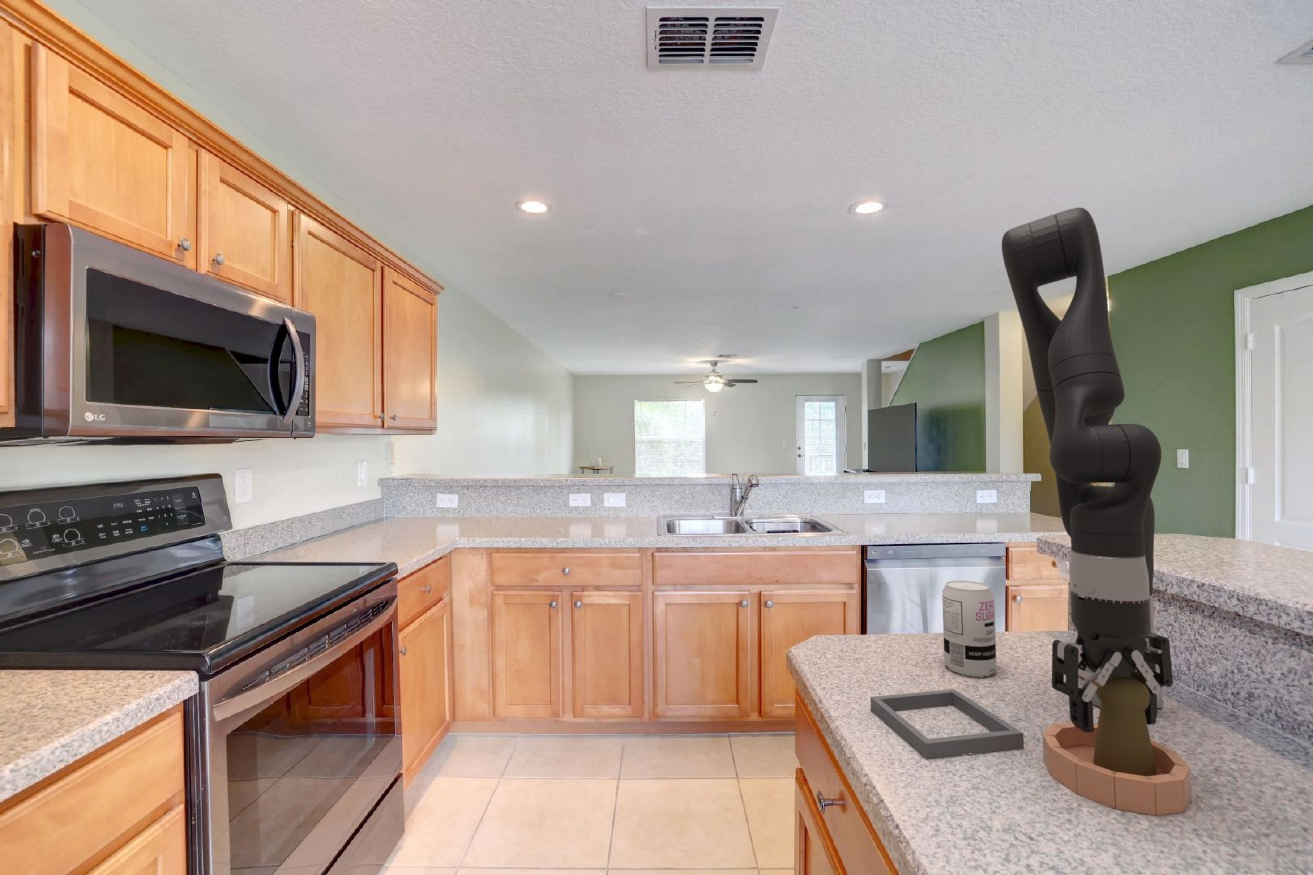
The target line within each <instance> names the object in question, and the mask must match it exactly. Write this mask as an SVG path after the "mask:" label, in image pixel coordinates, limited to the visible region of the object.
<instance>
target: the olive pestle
mask: <svg viewBox="0 0 1313 875" xmlns="http://www.w3.org/2000/svg"><path fill="white" fill-rule="evenodd" d="M1095 692H1096V695H1097V697H1098V698H1099V700H1100V701H1101V704H1100V707H1099V713H1098V722H1097V724H1098V728H1097V735H1096V743H1095V751H1094V759H1093V763H1094V765H1097V766H1099V767H1102V768H1105V769H1108V770H1111V771H1114V772H1120V773H1127V774H1134V775H1140V776H1155V775H1157V771H1156V766H1155V761H1154V756H1153V751H1152V746H1151V741H1150V739H1151V737H1150V732H1149V731H1150V730H1149V725H1148V724H1147V721H1146V716H1145V711H1144V710H1145V709H1146V708H1147V707H1148V706H1149V703H1150V693H1149V690H1148V689H1147V687H1146V686H1145V685H1144V684H1143V683H1142V682H1140V681H1139V680H1137V679H1135V678H1132V677H1123V676H1118V677H1116V678H1112V679H1107V681H1106V682H1105V684H1104V686H1102V687H1098V688H1097V690H1096V691H1095Z"/></svg>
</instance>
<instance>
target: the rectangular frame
mask: <svg viewBox="0 0 1313 875" xmlns="http://www.w3.org/2000/svg"><path fill="white" fill-rule="evenodd" d="M948 705H951V706H953V705H954V706H956V707H957V708H959V709H960V710H962V711H963V712H964V713H963V712H962V711H961V712H962V713H963V714H965V713H966V714H967V715H966V714H965V715H966V716H968V715H969V716H970V717H969V716H968V717H969V718H971V719H972V718H973V719H972V720H974V719H975V720H976V721H975V720H974V721H975V722H977V723H978V722H979V723H981V724H982V725H983V726H982V725H981V724H980V725H981V726H982V727H984V728H985V727H986V728H985V729H987V728H988V729H989V730H988V729H987V730H988V732H981V733H971V734H962V735H960V734H959V735H953V736H944V737H934V738H928V737H927V736H926V735H924V734H923V733H922V732H921V731H920V730H918V729H917V728H916V727H914V725H913V724H911V723H909V722H908V720H906V719H905V718H904V717H902V716H901V715H900V714H899V713H898V712H899V711H907V710H918V709H929V708H938V706H941V707H949V706H948ZM954 706H953V707H954ZM956 707H955V708H956ZM957 708H956V709H957ZM959 709H958V710H959ZM960 710H959V711H960ZM870 711H871V712H872V713H873V714H875V715H876V716H877V717H878V718H879V719H880V720H882V721H883V723H885V724H886V725H888V727H889V728H890V729H891V730H893V731H894V732H895V733H896V734H897V735H898V736H900V737H901V738H902V739H903V740H905V741H904V742H907V744H909V745H910V746H911V747H912V749H915V750H916V751H917V752H918V753H919V754H920V755H921V756H923V757H924V759H926V760H930V759H940V758H948V757H959V756H964V755H963V754H968V755H970V754H969V753H977V754H984V753H983V752H986V753H990V752H989V751H995V752H1000V751H999V750H1003V751H1008V750H1007V749H1012V750H1018V749H1020V748H1021V749H1024V748H1025V747H1024V745H1025V744H1024V732H1022V731H1021V730H1019V729H1017V728H1016V727H1015V726H1013V725H1011V724H1010V723H1008V722H1007V721H1005V720H1004V719H1002V718H1000V717H999V716H997V715H996V714H994V713H992V712H991V711H989V710H988V709H986V708H985V707H983V706H982V705H979V704H978V703H977V702H975V701H974V700H972V699H970V698H969V697H967V696H966V695H964V694H963V693H960V691H958V690H956V689H954V688H951V689H942V690H941V689H940V690H932V691H931V690H930V691H921V692H918V691H917V692H910V693H900V694H899V693H898V694H888V695H877V696H870ZM979 723H978V724H979ZM981 752H982V753H981ZM958 755H959V756H958Z"/></svg>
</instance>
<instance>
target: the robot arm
mask: <svg viewBox="0 0 1313 875" xmlns="http://www.w3.org/2000/svg"><path fill="white" fill-rule="evenodd" d="M1097 229H1098V228H1097V226H1096V223H1095V221H1094V218H1093V216H1092V215H1091V213H1090V212H1089V211H1088V210H1087V209H1086V208H1085V207H1074V208H1070V209H1066V210H1064V211H1063V210H1062V211H1060V212H1056V213H1054V214H1051V215H1048V216H1045V217H1041V218H1039V219H1035V220H1033V221H1029V222H1026V223H1024V224H1021V225H1018V226H1016V227H1015V226H1014V227H1012V228H1011V229H1008V230H1007V231H1006V232H1004V234H1003V236H1002V238H1001V254H1002V259H1003V263H1004V268H1005V271H1006V274H1007V277H1008V282H1009V284H1010V288H1011V291H1012V294H1013V298H1014V301H1015V305H1016V306H1017V307H1016V308H1017V311H1018V314H1019V318H1020V320H1021V324H1022V327H1023V331H1024V336H1025V339H1026V343H1027V347H1028V348H1027V349H1028V353H1029V358H1030V363H1031V368H1032V369H1031V370H1032V375H1033V379H1034V386H1035V390H1036V394H1037V398H1038V402H1039V406H1040V411H1041V414H1042V417H1043V420H1044V424H1045V428H1046V432H1047V435H1048V436H1047V437H1048V440H1049V441H1048V442H1049V445H1050V449H1049V460H1050V465H1051V467H1052V470H1053V471H1054V473H1055V480H1056V488H1057V495H1058V496H1057V497H1058V504H1059V511H1060V518H1061V520H1062V524H1063V527H1064V530H1065V532H1066V533H1067V536H1069V537H1070V547H1071V548H1070V549H1071V550H1070V553H1071V554H1070V560H1069V587H1070V588H1069V592H1070V617H1071V623H1072V625H1073V626H1074V627H1075V628H1076V631H1077V636H1076V639H1075V642H1073V641H1072V642H1071V641H1070V642H1065V641H1061V639H1054V640H1053V642H1052V643H1051V644H1052V648H1051V687H1052V688H1053V689H1054V690H1056V691H1057V692H1060V693H1061V694H1064V695H1065V696H1067V697H1068V700H1069V704H1068V705H1069V720H1070V722H1072V723H1073V724H1074V726H1075V727H1077V728H1079V729H1080V730H1082V731H1084V732H1086V733H1088V732H1093V731H1094V724H1095V723H1094V722H1095V720H1094V706H1097V707H1099V708H1100V704H1101V701H1100V700H1099V698H1098V697H1097V695H1096V692H1095V691H1096V690H1097V688H1098V687H1102V686H1104V684H1105V682H1106V681H1107V679H1112V678H1116V677H1118V676H1123V677H1132V678H1135V679H1137V680H1139V681H1140V682H1142V683H1143V684H1144V685H1145V686H1146V687H1147V689H1148V690H1149V693H1150V703H1149V706H1148V707H1147V708H1146V709H1145V710H1144V711H1145V716H1146V721H1147V726H1149V725H1150V726H1151V725H1155V724H1156V723H1157V721H1156V720H1157V717H1158V709H1160V708H1163V707H1164V704H1163V703H1164V702H1163V701H1164V700H1163V687H1167V688H1170V687H1172V686H1173V684H1174V678H1173V667H1172V657H1171V656H1172V655H1171V648H1170V646H1171V645H1170V639H1169V638H1168V637H1166V636H1162V635H1160V634H1156V633H1155V615H1154V614H1155V613H1154V587H1153V586H1154V575H1155V574H1154V573H1155V571H1154V570H1155V569H1154V567H1155V565H1154V564H1155V563H1154V561H1155V560H1154V558H1155V557H1154V554H1155V553H1154V552H1155V549H1154V548H1155V546H1154V545H1155V544H1154V541H1155V523H1156V522H1155V507H1154V502H1153V499H1152V497H1151V494H1152V491H1153V487H1154V485H1155V482H1156V479H1157V475H1158V474H1159V471H1160V467H1161V462H1162V447H1161V444H1160V442H1159V439H1158V437H1157V436H1156V435H1155V433H1154V432H1153V431H1152V430H1151V429H1150V428H1148V427H1146V426H1145V425H1142V424H1137V423H1117V424H1116V423H1112V424H1110V422H1111V420H1112V419H1113V416H1114V415H1115V411H1116V409H1117V408H1118V407H1120V405H1122V403H1123V401H1124V400H1125V399H1124V398H1125V395H1126V394H1125V388H1124V382H1123V380H1122V376H1121V372H1120V368H1119V364H1118V361H1117V357H1116V353H1115V350H1114V345H1113V340H1112V336H1111V329H1110V318H1109V309H1108V308H1109V305H1108V303H1109V302H1108V295H1107V294H1108V292H1107V285H1106V278H1105V277H1106V276H1105V268H1104V262H1103V255H1102V254H1103V253H1102V249H1101V242H1100V237H1099V234H1098V233H1099V232H1098V230H1097ZM1074 277H1076V278H1075V280H1076V281H1075V288H1074V289H1075V290H1074V293H1073V296H1072V299H1071V301H1070V303H1069V306H1068V307H1067V310H1066V311H1065V314H1064V316H1063V317H1062V319H1060V318H1059V317H1058V316H1057V315H1056V314H1055V313H1054V312H1053V311H1052V310H1051V308H1049V306H1048V305H1047V304H1046V302H1045V301H1044V299H1043V298H1042V296H1041V294H1040V291H1039V290H1038V288H1039V287H1042V286H1045V285H1048V284H1051V283H1056V282H1060V281H1064V280H1066V279H1068V278H1069V279H1072V278H1074ZM1093 483H1095V484H1100V483H1101V484H1102V483H1106V484H1108V483H1109V484H1113V483H1114V485H1113V486H1112V485H1111V486H1110V485H1109V486H1108V485H1092V484H1093Z"/></svg>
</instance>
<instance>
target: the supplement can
mask: <svg viewBox="0 0 1313 875" xmlns="http://www.w3.org/2000/svg"><path fill="white" fill-rule="evenodd" d="M990 587H991V586H990V585H988V584H985V583H982V582H977V581H971V580H950V581H947V582H945V585H944V587H943V589H942V591H941V597H942V598H941V599H942V601H941V602H942V626H943V630H942V632H943V654H944V655H943V656H944V657H943V658H944V659H943V660H944V665H945V666H946V667H947V668H948V669H949V670H950V671H951V670H952V672H953V671H954V673H955V672H957V673H956V674H958V673H959V674H958V675H961V674H962V676H965V675H966V677H970V676H977V677H976V678H983V677H982V676H987V677H991V676H992V675H993V674H994V673H995V672H996V671H997V668H998V667H997V643H996V641H997V640H996V638H997V637H996V612H995V609H996V606H995V595H994V594H993V592H992V590H991V588H990ZM992 673H993V674H992ZM991 674H992V675H991ZM990 675H991V676H990ZM978 676H979V677H978Z"/></svg>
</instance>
